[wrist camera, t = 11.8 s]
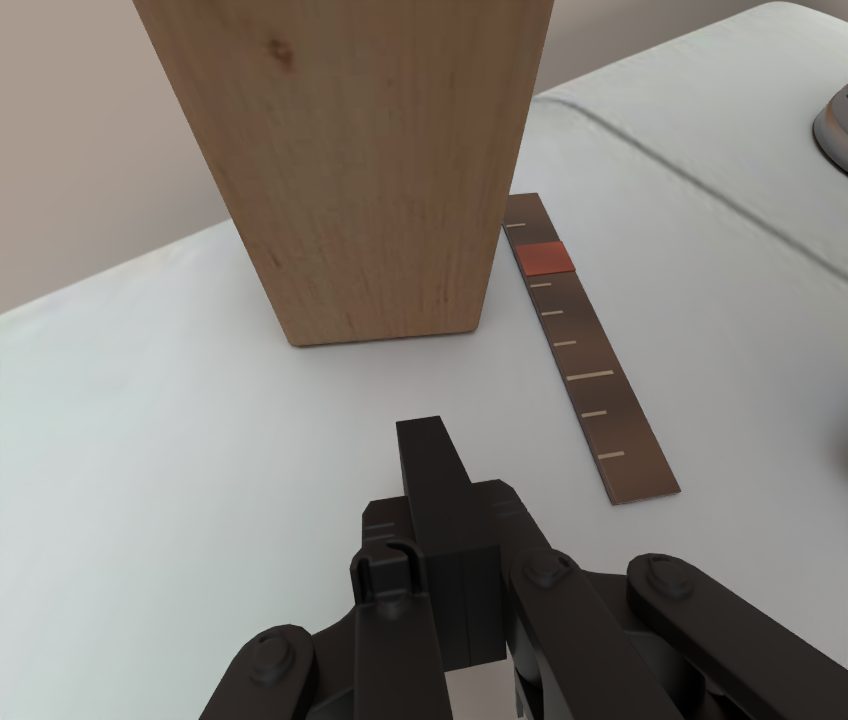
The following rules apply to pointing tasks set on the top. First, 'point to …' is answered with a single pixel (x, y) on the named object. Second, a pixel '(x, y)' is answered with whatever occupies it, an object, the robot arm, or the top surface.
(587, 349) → the ruler
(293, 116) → the wooden block
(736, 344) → the top surface
